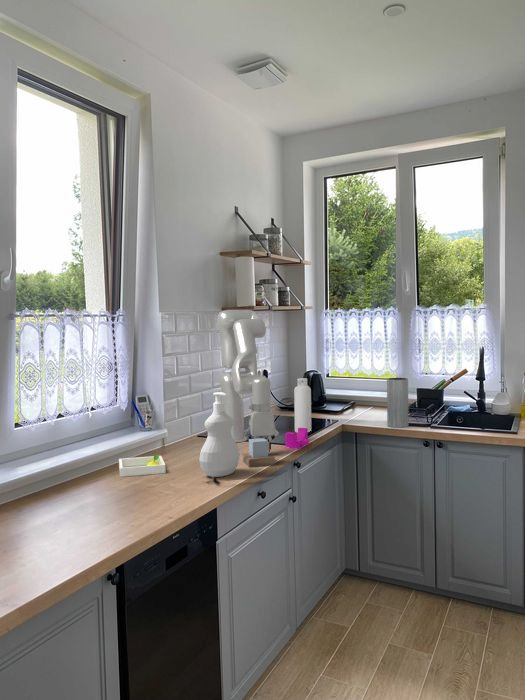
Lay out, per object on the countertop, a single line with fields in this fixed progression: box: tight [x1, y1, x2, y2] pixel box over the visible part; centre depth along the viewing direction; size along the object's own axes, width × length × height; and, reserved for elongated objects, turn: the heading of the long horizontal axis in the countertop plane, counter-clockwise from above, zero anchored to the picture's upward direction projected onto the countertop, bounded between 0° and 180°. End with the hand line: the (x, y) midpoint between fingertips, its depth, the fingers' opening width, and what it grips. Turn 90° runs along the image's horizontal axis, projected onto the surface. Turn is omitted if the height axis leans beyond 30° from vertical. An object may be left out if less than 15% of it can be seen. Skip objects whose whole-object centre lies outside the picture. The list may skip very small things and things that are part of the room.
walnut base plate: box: [242, 452, 276, 468], centre depth 215 cm, size 10×10×3 cm
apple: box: [146, 454, 160, 466], centre depth 212 cm, size 7×6×9 cm
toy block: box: [285, 428, 310, 450], centre depth 243 cm, size 15×6×8 cm, turn 152°
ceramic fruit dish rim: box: [118, 455, 166, 478], centre depth 208 cm, size 16×16×3 cm
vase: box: [386, 377, 410, 429], centre depth 270 cm, size 10×10×27 cm
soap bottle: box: [198, 391, 241, 478], centre depth 199 cm, size 17×12×29 cm
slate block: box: [248, 437, 268, 458], centre depth 215 cm, size 6×6×6 cm
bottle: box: [293, 377, 312, 433], centre depth 268 cm, size 8×8×28 cm
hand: (261, 451), depth 229 cm, fingers closed on terracotta cube, 4 cm apart
